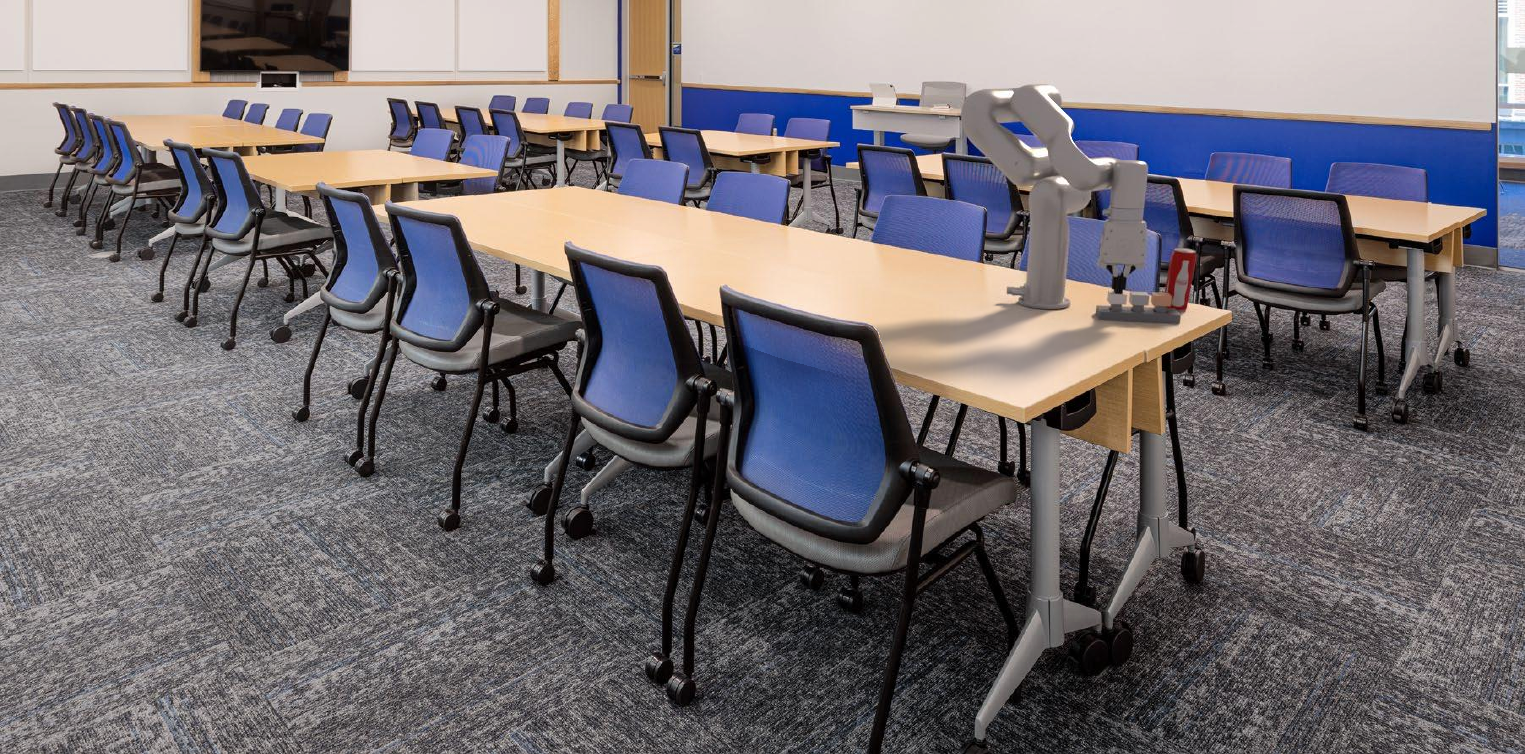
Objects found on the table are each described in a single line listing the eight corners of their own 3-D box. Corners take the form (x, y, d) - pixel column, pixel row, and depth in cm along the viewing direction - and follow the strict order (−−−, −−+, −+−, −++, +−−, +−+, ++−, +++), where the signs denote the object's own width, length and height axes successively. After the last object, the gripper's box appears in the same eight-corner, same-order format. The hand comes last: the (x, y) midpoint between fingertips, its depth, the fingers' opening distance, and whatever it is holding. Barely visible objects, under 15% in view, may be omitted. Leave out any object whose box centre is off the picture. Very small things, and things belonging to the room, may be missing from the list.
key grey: (1130, 315, 245) (1132, 294, 243) (1127, 311, 248) (1129, 291, 247) (1147, 315, 244) (1149, 295, 243) (1144, 312, 248) (1146, 292, 246)
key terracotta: (1152, 316, 244) (1154, 295, 243) (1149, 312, 248) (1151, 292, 246) (1169, 316, 243) (1171, 296, 242) (1166, 313, 247) (1168, 292, 246)
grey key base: (1099, 320, 245) (1100, 311, 244) (1095, 313, 251) (1096, 305, 251) (1179, 323, 242) (1180, 315, 241) (1173, 316, 248) (1174, 308, 248)
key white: (1108, 314, 246) (1110, 293, 244) (1106, 310, 249) (1108, 290, 248) (1125, 314, 245) (1127, 294, 244) (1122, 311, 249) (1124, 291, 247)
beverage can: (1166, 305, 260) (1173, 246, 255) (1193, 309, 256) (1200, 249, 251) (1158, 309, 255) (1165, 249, 251) (1185, 313, 251) (1192, 252, 247)
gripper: (1094, 216, 238) (1087, 294, 243) (1162, 218, 236) (1154, 297, 241) (1090, 212, 245) (1083, 288, 250) (1156, 213, 243) (1148, 290, 248)
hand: (1118, 292), depth 246 cm, fingers closed
